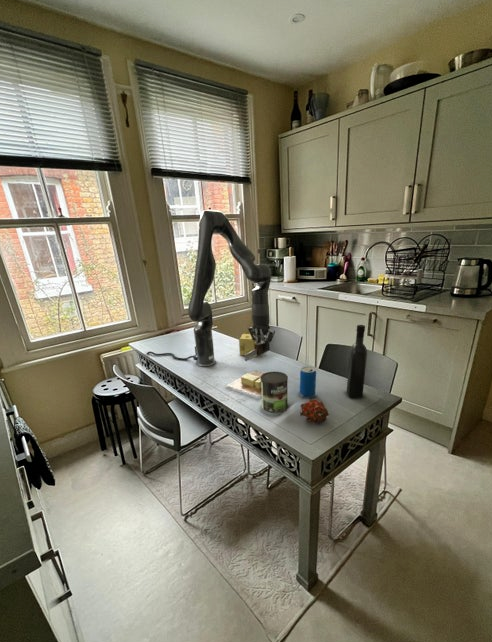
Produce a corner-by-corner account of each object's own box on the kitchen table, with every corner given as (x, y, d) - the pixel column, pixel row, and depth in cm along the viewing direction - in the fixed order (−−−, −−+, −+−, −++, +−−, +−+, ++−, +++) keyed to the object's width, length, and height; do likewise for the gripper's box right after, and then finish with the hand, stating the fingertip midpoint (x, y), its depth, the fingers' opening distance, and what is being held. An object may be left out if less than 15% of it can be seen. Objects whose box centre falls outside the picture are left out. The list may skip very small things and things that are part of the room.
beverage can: (311, 400, 130) (312, 373, 125) (297, 396, 133) (297, 370, 128) (317, 393, 135) (318, 367, 130) (303, 390, 138) (304, 365, 133)
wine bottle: (345, 391, 135) (351, 323, 123) (359, 391, 135) (366, 323, 122) (349, 398, 130) (355, 328, 117) (363, 398, 129) (371, 327, 117)
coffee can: (292, 411, 122) (292, 379, 117) (268, 418, 119) (267, 385, 113) (280, 399, 131) (279, 369, 125) (257, 406, 127) (256, 374, 122)
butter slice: (255, 387, 139) (255, 381, 138) (261, 383, 142) (261, 377, 141) (258, 388, 138) (258, 382, 137) (265, 384, 141) (265, 378, 140)
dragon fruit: (325, 432, 112) (302, 421, 122) (337, 412, 114) (313, 404, 124) (314, 420, 107) (290, 410, 117) (327, 399, 110) (302, 391, 119)
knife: (243, 360, 136) (242, 349, 134) (265, 349, 147) (264, 339, 145) (247, 361, 134) (246, 350, 132) (269, 350, 145) (269, 339, 143)
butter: (241, 382, 144) (240, 376, 143) (247, 379, 147) (247, 373, 146) (253, 386, 140) (252, 380, 138) (259, 382, 143) (259, 376, 142)
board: (226, 388, 143) (226, 385, 142) (254, 372, 157) (254, 369, 156) (257, 399, 132) (257, 396, 132) (284, 381, 146) (284, 378, 146)
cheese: (257, 356, 176) (256, 339, 172) (238, 355, 178) (237, 338, 174) (260, 349, 185) (260, 333, 181) (242, 349, 188) (242, 333, 183)
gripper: (278, 312, 134) (279, 350, 141) (253, 309, 142) (255, 345, 150) (268, 316, 129) (269, 356, 136) (242, 312, 137) (245, 350, 144)
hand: (262, 350), depth 143 cm, fingers closed on knife, 2 cm apart
